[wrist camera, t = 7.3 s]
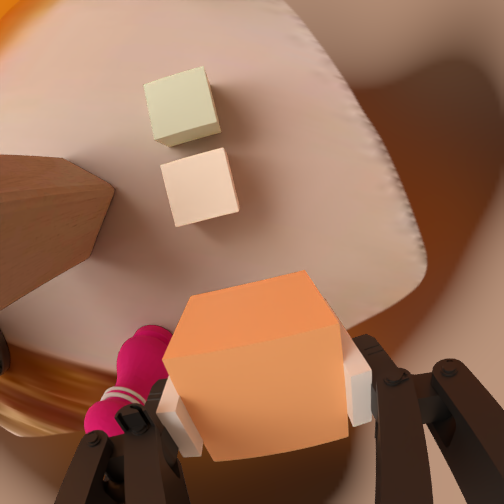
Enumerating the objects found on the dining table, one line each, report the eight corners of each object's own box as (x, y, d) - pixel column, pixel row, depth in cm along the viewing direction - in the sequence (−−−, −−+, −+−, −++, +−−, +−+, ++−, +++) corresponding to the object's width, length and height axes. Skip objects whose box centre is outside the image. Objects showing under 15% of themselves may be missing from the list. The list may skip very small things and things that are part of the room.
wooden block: (61, 155, 30) (-61, 150, 11) (120, 187, 31) (-3, 201, 12) (38, 225, 32) (-75, 262, 12) (91, 260, 33) (-17, 328, 14)
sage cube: (169, 147, 31) (154, 140, 25) (159, 99, 29) (143, 84, 24) (221, 132, 31) (216, 121, 25) (210, 85, 29) (203, 66, 23)
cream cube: (187, 219, 33) (175, 227, 27) (174, 168, 31) (160, 165, 25) (239, 206, 32) (238, 211, 27) (226, 153, 31) (223, 147, 25)
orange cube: (221, 385, 16) (214, 461, 11) (190, 296, 15) (161, 359, 9) (320, 364, 16) (348, 436, 10) (304, 270, 15) (339, 323, 9)
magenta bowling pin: (146, 310, 35) (74, 418, 15) (192, 343, 36) (158, 469, 17) (122, 345, 36) (55, 450, 17) (165, 375, 37) (124, 492, 18)
